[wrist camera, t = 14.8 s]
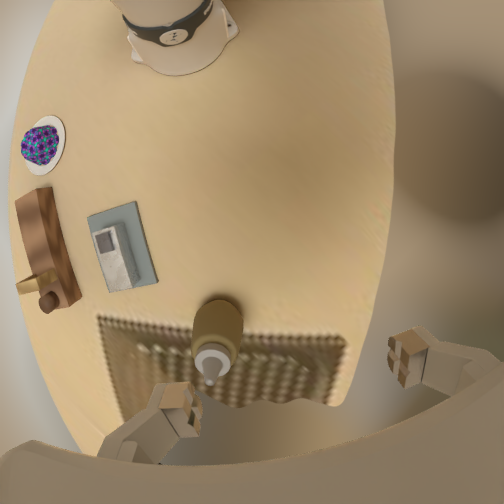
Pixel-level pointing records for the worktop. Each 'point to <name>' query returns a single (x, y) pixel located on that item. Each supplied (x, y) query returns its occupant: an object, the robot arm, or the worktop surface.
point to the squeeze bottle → (216, 339)
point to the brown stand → (45, 252)
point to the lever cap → (116, 257)
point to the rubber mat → (135, 235)
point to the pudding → (43, 145)
